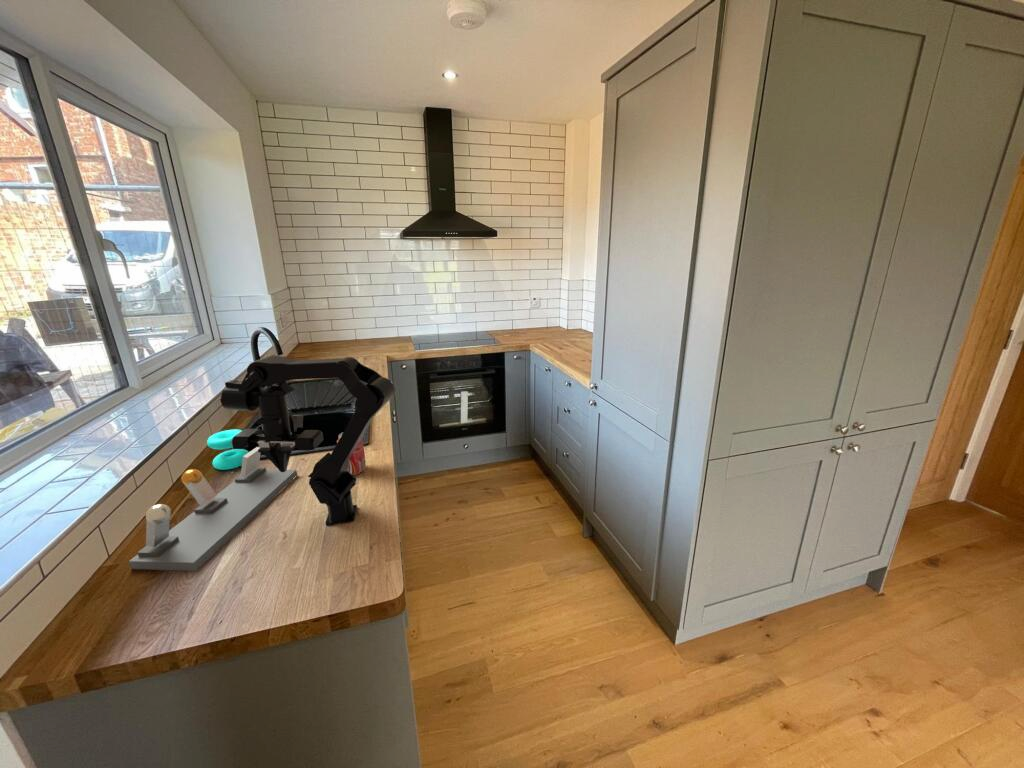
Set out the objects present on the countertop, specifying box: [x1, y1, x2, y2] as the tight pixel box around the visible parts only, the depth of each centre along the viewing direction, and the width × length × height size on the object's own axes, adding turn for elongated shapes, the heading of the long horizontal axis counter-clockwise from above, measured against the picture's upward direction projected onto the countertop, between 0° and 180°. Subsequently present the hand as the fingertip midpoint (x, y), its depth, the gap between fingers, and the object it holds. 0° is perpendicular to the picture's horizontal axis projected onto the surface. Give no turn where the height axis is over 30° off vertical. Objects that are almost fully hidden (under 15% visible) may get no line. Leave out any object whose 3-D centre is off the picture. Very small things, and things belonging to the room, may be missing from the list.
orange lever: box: [181, 468, 218, 506], centre depth 101 cm, size 4×4×9 cm
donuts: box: [206, 428, 250, 471], centre depth 127 cm, size 10×10×10 cm
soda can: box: [336, 431, 367, 476], centre depth 121 cm, size 7×7×12 cm
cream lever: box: [145, 503, 172, 547], centre depth 86 cm, size 4×4×9 cm
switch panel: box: [128, 466, 298, 571], centre depth 102 cm, size 14×38×3 cm, turn 177°
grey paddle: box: [240, 446, 262, 476], centre depth 115 cm, size 1×6×6 cm, turn 178°
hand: (283, 471), depth 99 cm, fingers closed
